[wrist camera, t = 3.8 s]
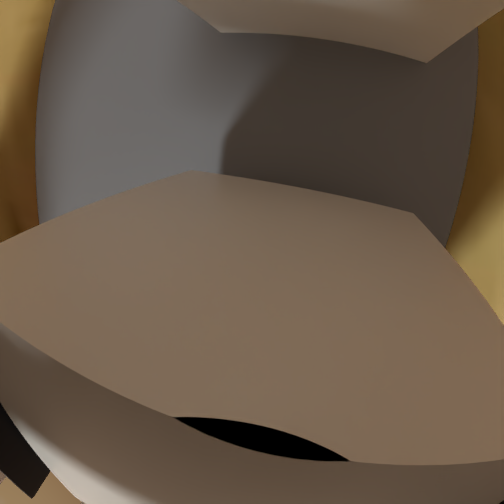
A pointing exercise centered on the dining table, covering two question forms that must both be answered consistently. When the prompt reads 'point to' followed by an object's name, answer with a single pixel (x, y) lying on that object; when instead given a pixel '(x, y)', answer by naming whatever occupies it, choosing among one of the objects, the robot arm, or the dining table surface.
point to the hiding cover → (355, 21)
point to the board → (245, 111)
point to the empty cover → (250, 351)
